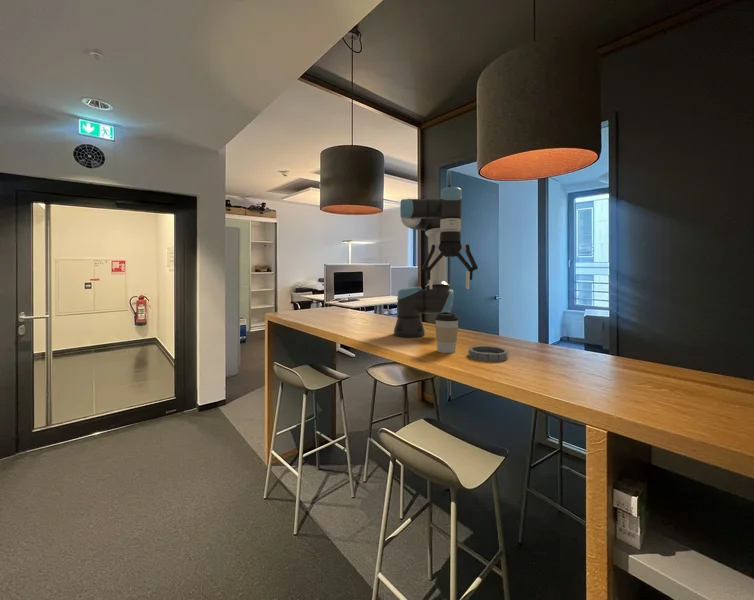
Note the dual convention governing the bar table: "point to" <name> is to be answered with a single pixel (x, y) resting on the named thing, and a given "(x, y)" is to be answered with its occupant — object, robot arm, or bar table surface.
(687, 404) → the bar table surface
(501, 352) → the tray
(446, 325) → the coffee cup
